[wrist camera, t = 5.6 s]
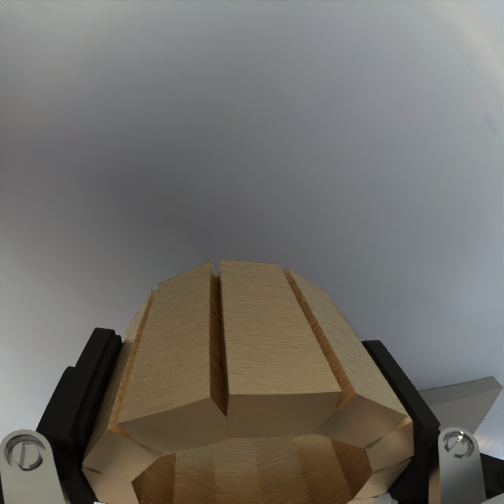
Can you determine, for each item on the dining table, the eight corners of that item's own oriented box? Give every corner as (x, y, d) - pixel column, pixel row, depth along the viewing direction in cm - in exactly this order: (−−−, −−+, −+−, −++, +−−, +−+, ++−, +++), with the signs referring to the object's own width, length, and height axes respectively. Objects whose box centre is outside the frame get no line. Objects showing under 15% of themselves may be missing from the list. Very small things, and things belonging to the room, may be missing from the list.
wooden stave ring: (121, 251, 8) (41, 370, 4) (365, 269, 9) (467, 372, 5) (138, 423, 10) (121, 535, 6) (314, 427, 12) (350, 529, 7)
